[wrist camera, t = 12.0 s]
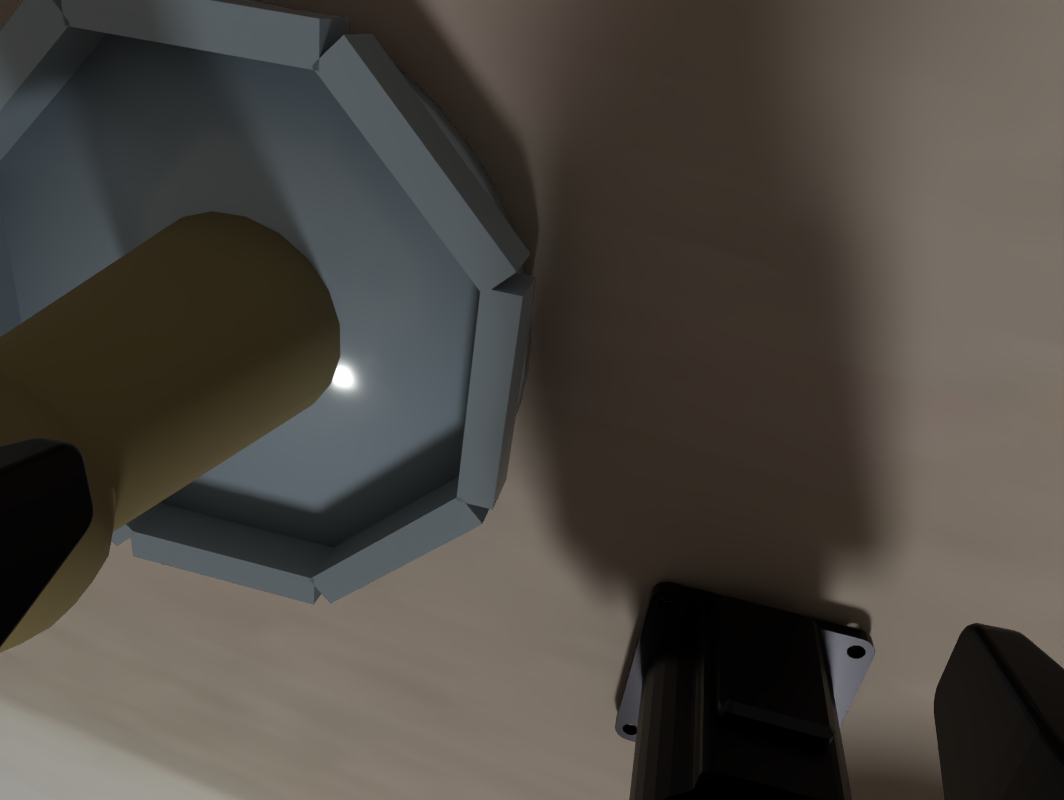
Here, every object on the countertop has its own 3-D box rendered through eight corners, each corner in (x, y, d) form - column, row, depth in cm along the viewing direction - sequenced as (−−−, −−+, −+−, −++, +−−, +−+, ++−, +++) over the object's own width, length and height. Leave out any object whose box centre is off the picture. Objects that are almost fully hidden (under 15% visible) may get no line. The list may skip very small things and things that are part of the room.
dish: (494, 591, 25) (473, 647, 23) (49, 476, 27) (-10, 517, 25) (576, 53, 18) (556, 58, 15) (-48, -52, 19) (-145, -60, 17)
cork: (98, 296, 22) (-384, 519, 12) (224, 162, 19) (-262, 312, 10) (249, 454, 23) (-79, 764, 14) (385, 348, 21) (99, 640, 11)
